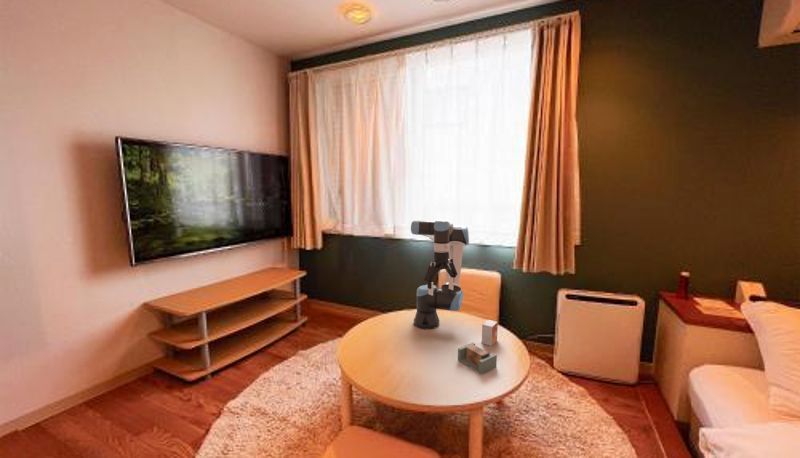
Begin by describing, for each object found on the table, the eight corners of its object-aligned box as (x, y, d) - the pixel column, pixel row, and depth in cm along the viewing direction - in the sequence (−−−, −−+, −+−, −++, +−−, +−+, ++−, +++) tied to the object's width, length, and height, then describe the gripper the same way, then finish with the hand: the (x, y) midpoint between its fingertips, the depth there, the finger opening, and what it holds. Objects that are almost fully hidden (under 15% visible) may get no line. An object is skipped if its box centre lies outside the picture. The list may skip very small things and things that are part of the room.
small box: (491, 346, 169) (492, 327, 167) (481, 343, 172) (481, 324, 171) (497, 340, 175) (498, 321, 173) (487, 337, 178) (488, 319, 177)
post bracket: (457, 360, 156) (458, 348, 155) (472, 353, 162) (472, 342, 161) (481, 374, 144) (481, 362, 143) (496, 367, 150) (496, 355, 149)
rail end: (466, 358, 155) (466, 346, 154) (472, 355, 158) (473, 344, 157) (482, 368, 147) (482, 356, 146) (489, 365, 150) (489, 352, 149)
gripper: (426, 255, 153) (426, 299, 156) (464, 249, 167) (464, 289, 170) (417, 252, 159) (417, 294, 163) (454, 246, 173) (453, 285, 176)
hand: (441, 291), depth 166 cm, fingers open, 13 cm apart
